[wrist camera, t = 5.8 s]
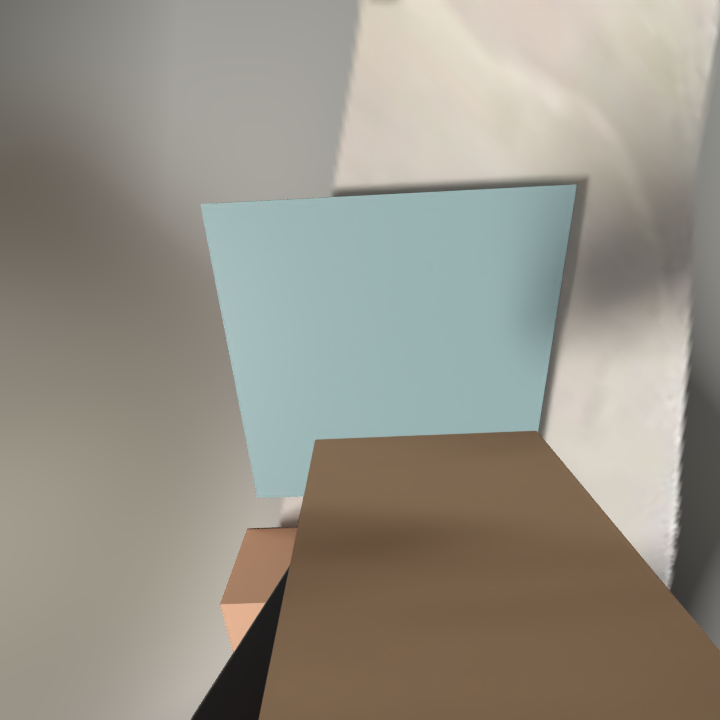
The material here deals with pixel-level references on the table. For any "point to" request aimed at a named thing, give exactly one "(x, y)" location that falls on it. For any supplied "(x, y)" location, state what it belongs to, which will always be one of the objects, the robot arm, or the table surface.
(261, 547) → the terracotta cube
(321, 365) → the board
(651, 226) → the table surface
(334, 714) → the walnut cube
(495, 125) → the table surface
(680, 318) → the table surface
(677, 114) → the table surface
